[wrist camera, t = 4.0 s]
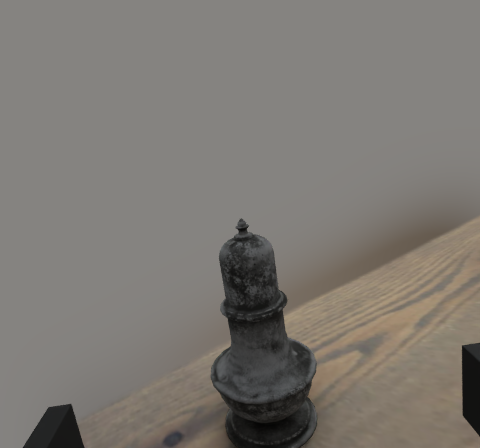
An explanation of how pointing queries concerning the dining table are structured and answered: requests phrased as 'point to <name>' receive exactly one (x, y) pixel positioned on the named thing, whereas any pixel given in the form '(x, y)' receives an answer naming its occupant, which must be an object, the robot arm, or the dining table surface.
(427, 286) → the dining table surface
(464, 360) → the robot arm
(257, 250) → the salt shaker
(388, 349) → the dining table surface
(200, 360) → the dining table surface
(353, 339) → the dining table surface
